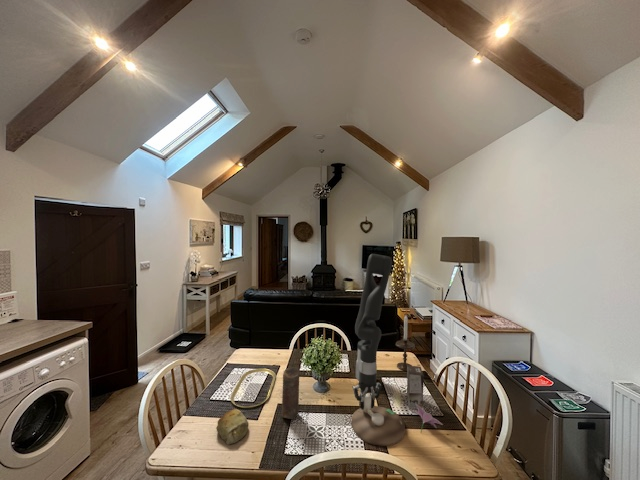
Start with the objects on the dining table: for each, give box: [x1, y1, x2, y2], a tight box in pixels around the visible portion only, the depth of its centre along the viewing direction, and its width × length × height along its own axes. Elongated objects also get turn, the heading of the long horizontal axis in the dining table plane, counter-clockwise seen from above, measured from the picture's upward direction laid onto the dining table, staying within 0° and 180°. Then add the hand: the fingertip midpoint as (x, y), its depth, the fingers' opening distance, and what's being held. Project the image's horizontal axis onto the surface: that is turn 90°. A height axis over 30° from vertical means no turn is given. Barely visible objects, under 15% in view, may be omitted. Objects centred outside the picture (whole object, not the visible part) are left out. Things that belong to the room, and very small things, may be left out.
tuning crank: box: [362, 393, 384, 426], centre depth 121 cm, size 12×5×6 cm, turn 26°
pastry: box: [216, 408, 249, 446], centre depth 114 cm, size 14×12×8 cm
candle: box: [281, 367, 300, 420], centre depth 124 cm, size 8×7×20 cm
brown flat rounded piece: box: [350, 405, 406, 447], centre depth 118 cm, size 22×22×2 cm
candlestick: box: [395, 309, 416, 372], centre depth 168 cm, size 11×11×35 cm
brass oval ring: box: [230, 368, 277, 409], centre depth 146 cm, size 19×35×2 cm, turn 179°
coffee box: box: [406, 365, 425, 410], centre depth 134 cm, size 9×6×16 cm
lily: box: [412, 404, 444, 434], centre depth 117 cm, size 12×12×10 cm
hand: (366, 407), depth 125 cm, fingers closed on tuning crank, 4 cm apart
